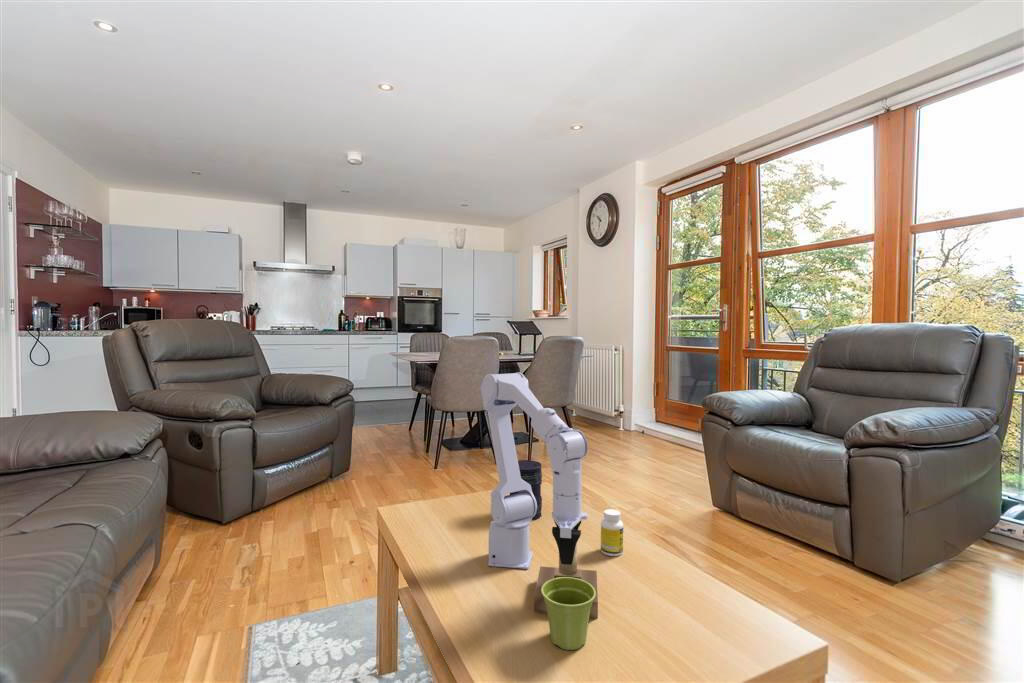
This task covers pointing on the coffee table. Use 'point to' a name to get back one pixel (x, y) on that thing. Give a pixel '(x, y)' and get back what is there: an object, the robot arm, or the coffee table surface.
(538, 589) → the socket block
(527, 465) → the storage jar
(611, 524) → the supplement bottle
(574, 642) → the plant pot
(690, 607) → the coffee table surface
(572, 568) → the pin
